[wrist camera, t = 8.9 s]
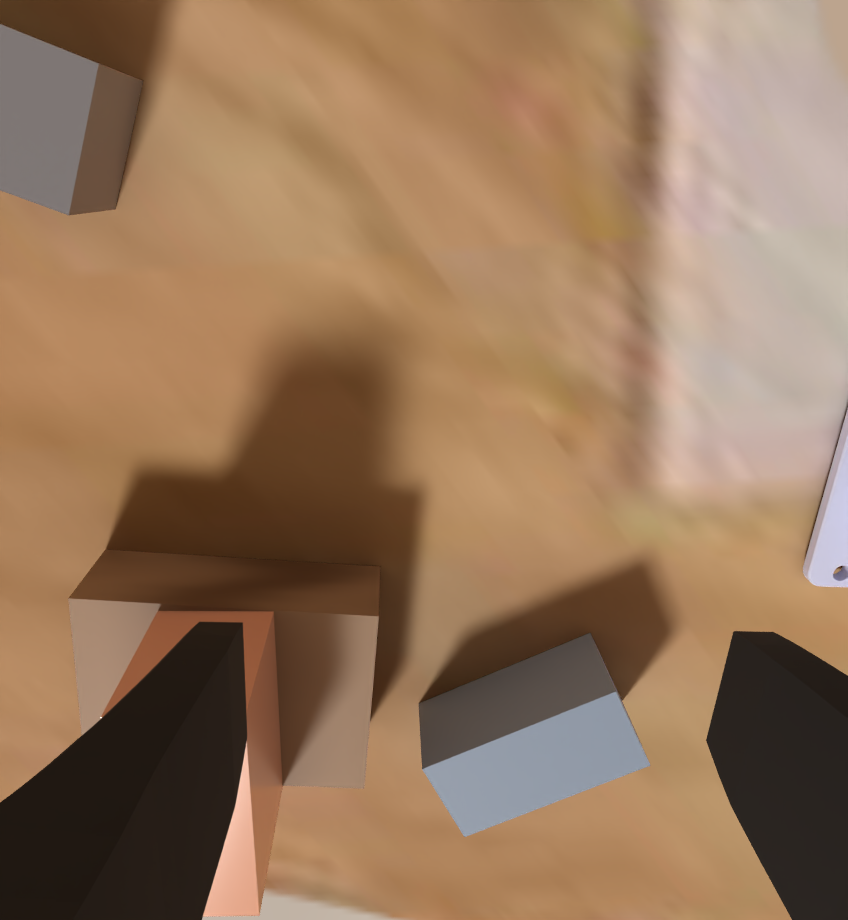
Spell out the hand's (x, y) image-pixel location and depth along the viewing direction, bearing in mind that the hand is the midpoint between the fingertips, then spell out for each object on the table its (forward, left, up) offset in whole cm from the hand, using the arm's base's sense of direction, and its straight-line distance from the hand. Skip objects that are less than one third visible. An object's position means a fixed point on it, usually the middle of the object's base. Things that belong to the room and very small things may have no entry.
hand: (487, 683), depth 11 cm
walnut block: (+6, +7, -11) cm, 14 cm away
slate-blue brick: (-3, +9, -11) cm, 14 cm away
